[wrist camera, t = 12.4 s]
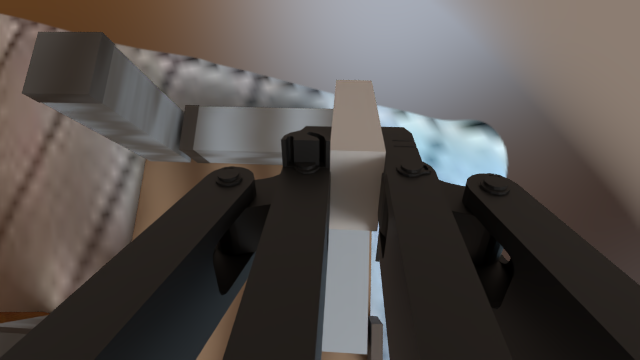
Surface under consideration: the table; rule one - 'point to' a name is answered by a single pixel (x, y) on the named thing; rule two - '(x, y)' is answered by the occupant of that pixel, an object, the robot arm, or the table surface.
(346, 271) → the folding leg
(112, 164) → the table surface
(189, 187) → the grey block structure
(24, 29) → the table surface
